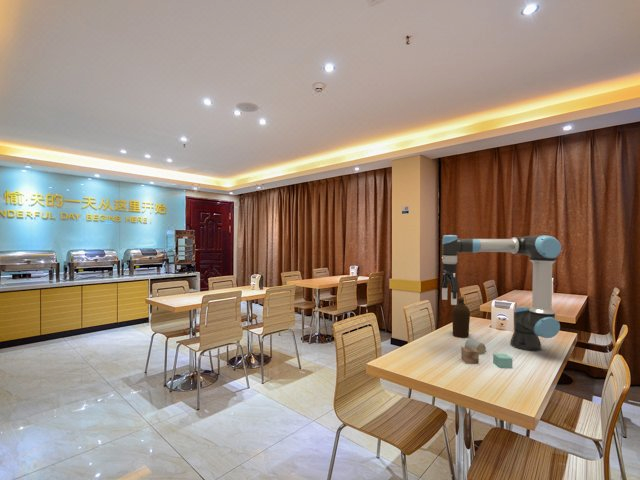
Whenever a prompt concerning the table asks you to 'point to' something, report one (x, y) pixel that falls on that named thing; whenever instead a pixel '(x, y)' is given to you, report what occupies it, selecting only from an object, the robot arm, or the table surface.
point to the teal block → (502, 360)
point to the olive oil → (460, 319)
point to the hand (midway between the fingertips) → (449, 302)
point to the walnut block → (469, 355)
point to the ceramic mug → (476, 345)
